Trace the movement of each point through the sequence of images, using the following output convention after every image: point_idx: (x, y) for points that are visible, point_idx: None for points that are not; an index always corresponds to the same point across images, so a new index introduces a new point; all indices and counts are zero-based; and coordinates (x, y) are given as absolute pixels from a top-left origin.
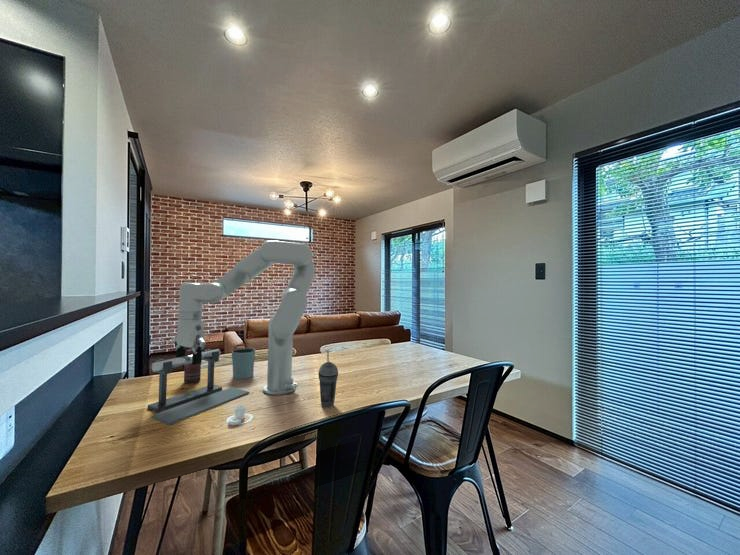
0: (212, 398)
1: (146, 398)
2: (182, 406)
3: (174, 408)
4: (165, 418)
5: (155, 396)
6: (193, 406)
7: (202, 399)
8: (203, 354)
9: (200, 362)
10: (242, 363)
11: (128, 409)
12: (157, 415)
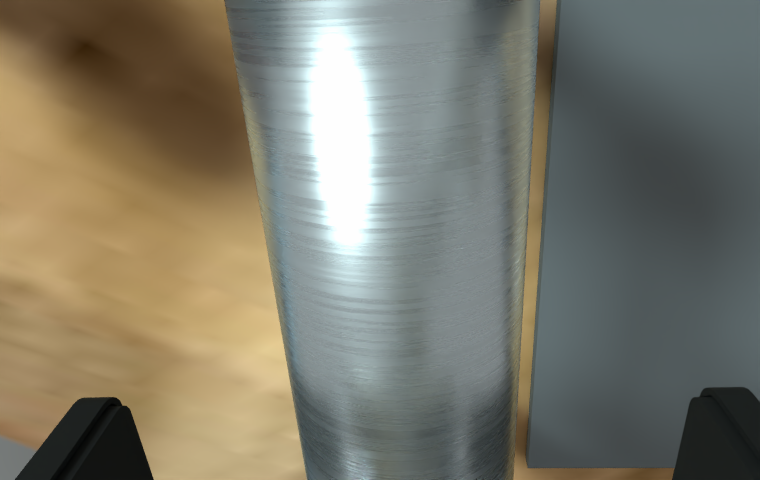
0: (675, 72)
1: (144, 340)
2: (578, 313)
3: (557, 357)
4: (656, 452)
5: (145, 290)
6: (662, 270)
7: (599, 143)
8: (508, 245)
9: (746, 411)
10: None
11: (276, 464)
12: (563, 453)
